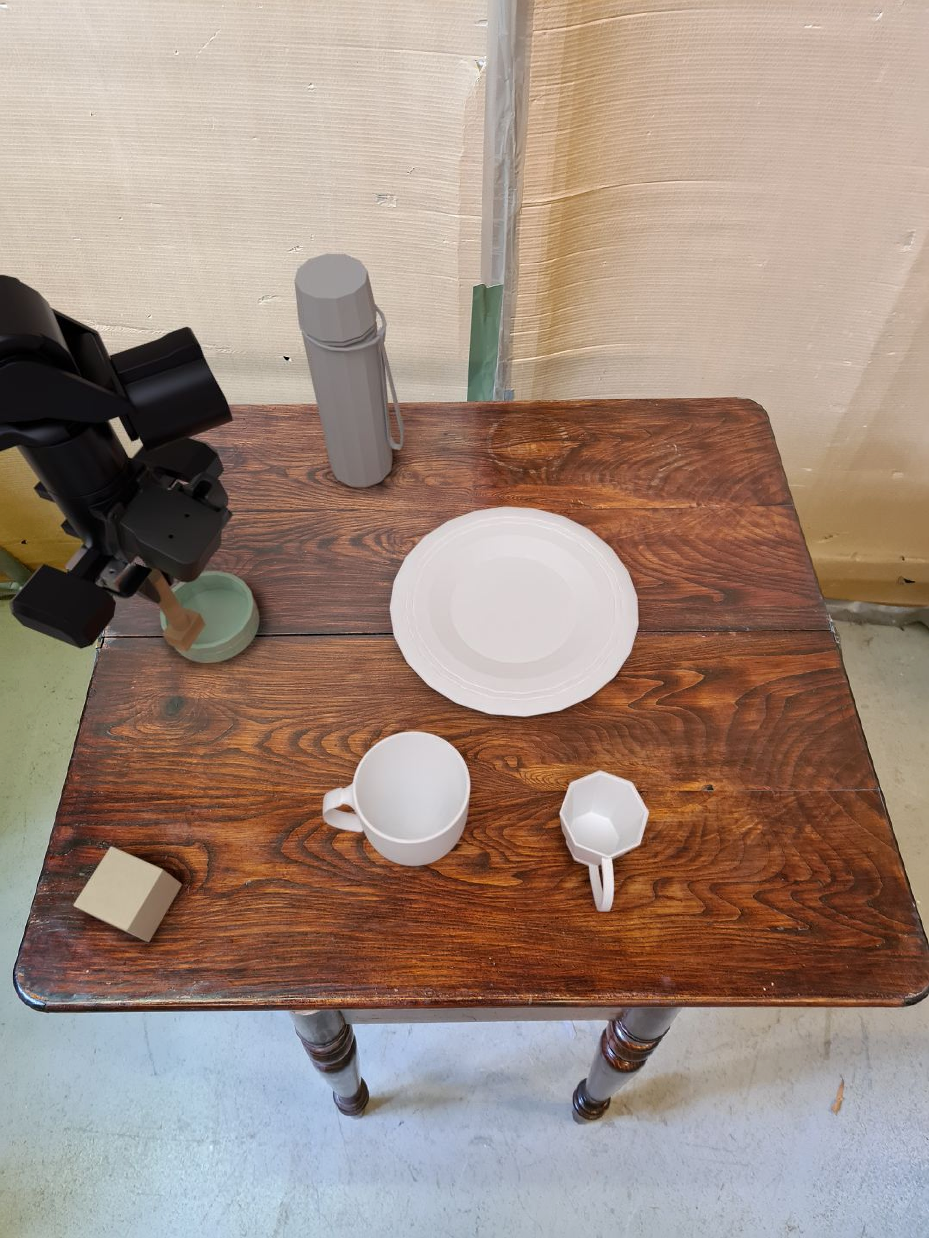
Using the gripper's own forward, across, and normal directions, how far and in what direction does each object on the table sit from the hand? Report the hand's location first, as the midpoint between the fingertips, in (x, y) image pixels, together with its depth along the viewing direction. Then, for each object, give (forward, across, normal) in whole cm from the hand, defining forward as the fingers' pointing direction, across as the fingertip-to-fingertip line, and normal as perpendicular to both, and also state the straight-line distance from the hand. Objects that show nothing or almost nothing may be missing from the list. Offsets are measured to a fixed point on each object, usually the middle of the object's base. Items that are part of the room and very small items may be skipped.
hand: (161, 592), depth 67 cm
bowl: (+13, +4, +2) cm, 14 cm away
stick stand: (+13, -21, -7) cm, 26 cm away
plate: (+14, +17, -26) cm, 34 cm away
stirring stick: (+7, 0, 0) cm, 7 cm away
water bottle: (+14, +29, -4) cm, 32 cm away
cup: (+14, -4, -41) cm, 43 cm away
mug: (+14, -8, -25) cm, 29 cm away
